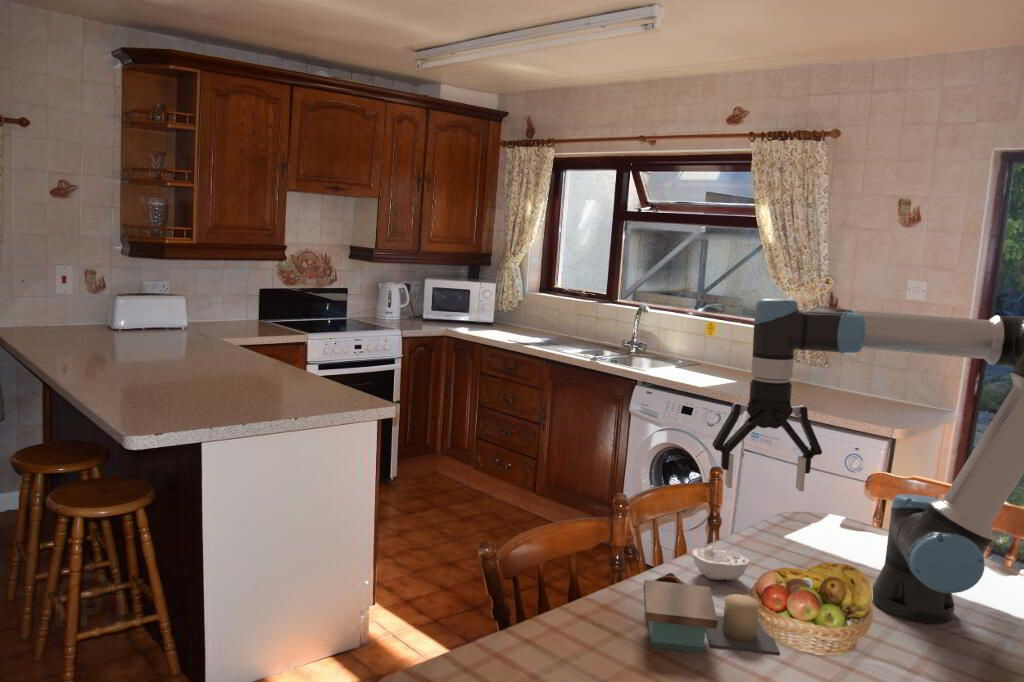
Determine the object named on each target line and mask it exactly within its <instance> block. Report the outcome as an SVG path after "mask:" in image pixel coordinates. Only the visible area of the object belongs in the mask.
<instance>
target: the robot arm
mask: <svg viewBox="0 0 1024 682" xmlns="http://www.w3.org/2000/svg"><path fill="white" fill-rule="evenodd" d="M752 337H753V339H752V340H753V341H752V360H751V371H750V375H751V376H752V377H753V378H752V379H751V380H750V384H749V385H750V386H749V388H750V389H749V398H748V399H749V400H748V403H747V404H744V403H740V402H738V401H733V402H732V404H731V409H730V413H729V415H728V416H727V418H726V420H725V421H724V423H723V424H722V426H721V429H720V430H719V432H718V434H717V435H716V436H715V438H714V440H713V442H712V443H711V444H712V447H713V448H714V450H716V451H719V452H720V453H721V455H720V456H721V458H720V467H721V469H722V470H724V471H725V479H724V484H725V486H726V488H728V489H732V488H733V474H734V459H735V458H734V457H735V455H734V453H733V452H732V451H733V450H734V449H735V448H736V447H737V446H738V445H739V444H740V443H741V442H742V441H743V440H744V439H745V438H746V437H747V436H748V435H749V434H750V432H752V431H753V430H755V429H756V428H757V427H759V428H761V429H767V428H770V429H775V430H777V429H778V428H782V429H783V430H784V431H785V433H786V434H787V436H788V437H789V438H790V439H791V440H792V441H793V443H794V444H795V445H796V447H797V448H798V449H799V451H800V452H801V453H802V454H798V455H797V464H796V481H795V489H797V490H798V491H799V492H805V482H806V481H805V479H806V478H805V477H806V474H810V473H811V467H812V459H813V458H814V457H815V456H817V455H818V456H819V455H822V453H823V450H822V448H821V445H820V443H819V441H818V438H817V436H816V434H815V432H814V429H813V427H812V425H811V422H810V420H809V416H808V415H809V414H808V407H806V406H805V405H803V404H798V405H795V406H792V404H791V401H792V400H791V399H792V398H791V397H792V385H793V384H792V383H791V381H790V380H792V379H793V371H794V369H793V368H794V354H795V351H796V350H797V351H798V350H799V351H814V352H815V351H816V352H828V353H830V352H831V353H840V354H842V355H843V354H846V353H847V354H849V353H850V354H853V353H854V354H856V353H859V352H861V351H862V350H863V349H867V350H868V349H870V350H880V351H881V350H882V351H891V352H892V351H893V352H900V353H901V352H902V353H903V352H905V353H914V354H926V355H936V356H948V357H959V358H970V359H981V360H985V362H987V364H988V365H990V366H1000V367H1007V368H1012V370H1011V372H1010V373H1009V376H1010V378H1011V381H1012V384H1013V385H1012V388H1011V390H1010V391H1009V393H1008V395H1007V396H1006V398H1005V399H1004V401H1003V403H1002V404H1001V406H999V407H1000V408H998V410H997V413H996V414H995V416H994V417H993V418H992V420H991V422H990V423H989V425H988V426H987V428H986V429H985V431H984V433H983V434H982V436H981V438H980V439H979V441H978V442H977V444H976V446H975V447H974V448H973V450H972V452H971V453H970V455H969V457H968V458H967V460H966V461H965V462H964V465H963V466H962V468H961V469H960V471H959V473H958V474H957V476H956V478H955V479H954V480H953V482H952V484H951V486H950V487H949V488H948V490H947V491H946V493H945V495H944V497H943V498H938V497H933V496H927V495H919V494H910V493H901V494H897V495H895V496H894V497H893V500H892V505H891V507H890V517H889V526H888V527H889V528H888V535H887V543H886V552H885V559H884V565H883V567H882V568H881V571H879V574H878V575H877V578H876V580H875V582H874V583H873V586H872V588H871V590H872V589H873V601H872V603H873V604H874V605H876V606H877V607H878V608H879V609H881V610H883V611H884V612H886V613H888V614H890V615H893V616H895V617H898V618H901V619H905V620H908V621H913V622H916V623H917V622H918V623H925V624H943V623H944V624H945V623H949V622H951V621H952V620H953V618H954V613H955V602H954V598H953V594H957V593H962V592H966V591H968V590H969V589H972V588H973V587H974V586H976V585H977V584H978V583H979V581H980V580H981V579H982V578H983V577H982V576H983V575H984V572H985V568H986V566H985V558H984V554H985V552H986V551H987V549H988V547H989V546H990V545H991V543H992V542H993V540H994V539H995V538H994V537H995V536H994V532H993V530H992V523H993V521H994V520H995V519H996V517H997V515H999V512H1000V510H1001V509H1002V508H1003V506H1004V504H1005V503H1006V502H1007V501H1008V499H1009V497H1010V495H1011V494H1012V492H1013V491H1014V489H1015V488H1016V486H1017V485H1018V483H1019V481H1020V479H1021V478H1022V477H1023V475H1024V315H1022V316H1021V315H1019V316H1018V315H1017V316H1015V315H1014V316H1013V315H1012V316H1011V315H1010V316H1009V315H998V314H997V315H994V316H992V317H991V318H989V319H978V318H968V317H966V318H964V317H954V316H953V317H952V316H941V315H940V316H937V315H928V314H927V315H926V314H925V315H924V314H912V313H902V312H901V313H898V312H897V313H896V312H888V311H873V310H872V311H871V310H858V309H846V308H845V309H844V308H835V307H833V308H832V307H828V306H822V305H821V306H820V305H819V306H816V307H814V306H813V307H812V308H810V309H808V310H804V309H803V310H802V309H799V306H798V301H796V300H795V299H790V298H789V299H788V298H776V297H775V298H773V297H772V298H771V297H767V298H761V299H758V301H757V302H756V305H755V312H754V321H753V336H752ZM745 411H746V412H747V414H748V415H749V417H748V418H747V419H746V420H745V421H744V422H743V424H742V426H740V427H739V428H738V429H737V430H736V431H735V432H734V433H733V434H732V435H731V437H730V438H728V437H729V435H730V434H731V432H732V430H733V428H734V427H735V425H736V424H737V422H738V419H739V418H740V416H742V415H744V413H745ZM792 414H794V416H795V417H796V418H798V421H799V423H800V425H801V429H803V430H802V431H803V432H804V435H805V437H806V439H807V441H808V444H809V446H810V447H808V446H807V445H806V443H805V442H804V441H803V440H802V438H801V437H800V436H799V435H798V433H797V432H796V431H795V430H794V428H793V427H792V425H791V424H790V423H789V421H788V419H789V417H790V416H791V415H792ZM727 438H728V439H727ZM726 440H727V441H726Z"/></svg>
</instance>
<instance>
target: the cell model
mask: <svg viewBox="0 0 1024 682" xmlns="http://www.w3.org/2000/svg"><path fill="white" fill-rule="evenodd" d="M691 552H692V556H693V557H692V558H693V561H694V563H695V566H696V568H697V569H698V571H699V573H701V574H702V575H704V576H705V577H706V578H708V579H710V580H716V581H717V580H718V581H721V580H722V581H723V580H727V581H734V580H738V579H739V578H741V577H742V576H743V575H744V573H745V572H746V570H747V567H749V564H750V562H751V561H750V559H749V558H747V557H746V556H744V555H742V554H741V553H738V552H736V551H734V550H730V549H727V548H724V547H721V548H720V547H714V545H709V546H707V547H705V546H704V547H697V548H693V549H692V551H691Z"/></svg>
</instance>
